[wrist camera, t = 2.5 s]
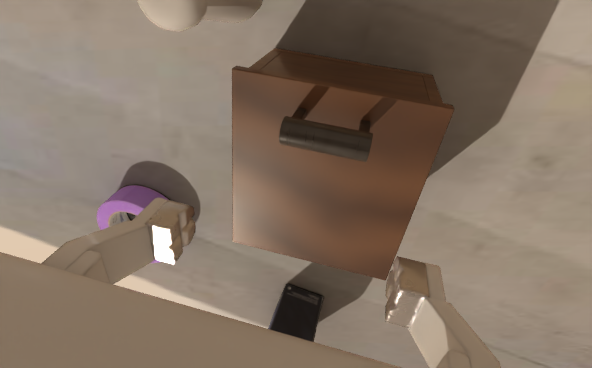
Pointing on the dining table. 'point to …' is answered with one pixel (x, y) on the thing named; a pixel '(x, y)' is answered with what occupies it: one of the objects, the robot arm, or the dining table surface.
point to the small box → (297, 313)
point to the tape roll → (125, 205)
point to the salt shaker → (196, 11)
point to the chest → (350, 74)
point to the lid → (328, 168)
